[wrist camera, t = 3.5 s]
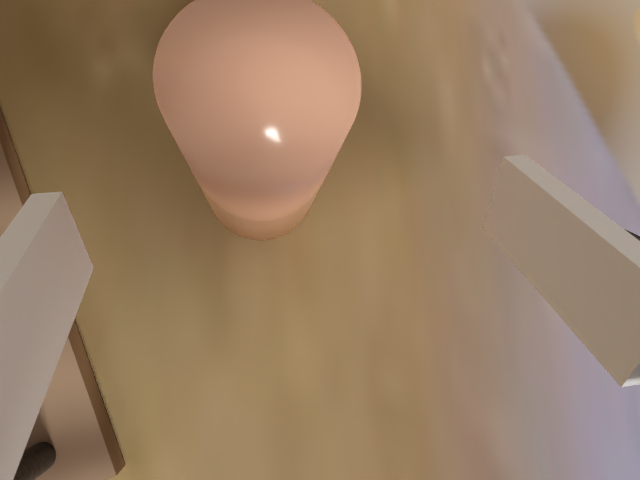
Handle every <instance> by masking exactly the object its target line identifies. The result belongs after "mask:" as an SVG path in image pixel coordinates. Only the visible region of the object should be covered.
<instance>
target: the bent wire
mask: <svg viewBox="0 0 640 480" xmlns="http://www.w3.org/2000/svg"><path fill="white" fill-rule="evenodd" d="M55 460H56V450H55V448H54V447H53V446H52V445H51V444H50V443H47V442H39V443H36V444H34V445H32V446H31V447H29V448H28V449H26V450H24V453H23V455H22V458H21V460H20V463H19V466H18V468H17V471H16V474H15V476H14V479H13V480H35V479H36V478H38V477H39V476H40V475H42V474H43V473H44V472H45V471H47V470H48V469H49V468H50V467H51V466H52V465H53V464H54V462H55Z"/></svg>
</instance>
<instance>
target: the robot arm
mask: <svg viewBox="0 0 640 480" xmlns="http://www.w3.org/2000/svg"><path fill="white" fill-rule="evenodd" d="M483 228H484V229H485V230H486V231H487V233H488V234H489V235H490V236H491V237H492V238H493V240H494V241H495V242H496V243H497V244H498V245H499V246H500V248H501V249H502V250H503V251H504V252H505V253H506V255H507V256H508V257H509V258H510V259H511V260H512V262H513V263H514V264H515V265H516V266H517V267H518V268H519V270H520V271H521V272H522V273H523V274H524V275H525V277H526V278H527V279H528V280H529V281H530V282H531V283H532V285H533V286H534V287H535V288H536V289H537V290H538V292H539V293H540V294H541V295H542V296H543V297H544V298H545V300H546V301H547V302H548V303H549V304H550V305H551V307H552V308H553V309H554V310H555V311H556V312H557V314H558V315H559V316H560V317H561V318H562V319H563V320H564V322H565V323H566V324H567V325H568V326H569V327H570V329H571V330H572V331H573V332H574V333H575V334H576V335H577V337H578V338H579V339H580V340H581V341H582V342H583V344H584V345H585V346H586V347H587V348H588V349H589V350H590V352H591V353H592V354H593V355H594V356H595V357H596V359H597V360H598V361H599V362H600V363H601V364H602V366H603V367H604V368H605V369H606V370H607V371H608V372H609V374H610V375H611V376H612V377H613V378H614V379H615V381H616V382H617V383H618V384H619V385H620V386H621V387H626V386H631V385H637V384H640V236H638V235H636V234H634V233H631V232H629V231H627V230H625V229H623V228H622V227H621V226H619V225H618V224H617V223H615V222H614V221H613V220H611V219H610V218H609V217H607V216H606V215H605V214H603V213H602V212H601V211H599V210H598V209H597V208H595V207H594V206H593V205H591V204H590V203H589V202H587V201H586V200H585V199H583V198H582V197H581V196H579V195H578V194H577V193H575V192H574V191H573V190H571V189H570V188H569V187H567V186H566V185H565V184H563V183H562V182H561V181H559V180H558V179H557V178H555V177H554V176H553V175H551V174H550V173H549V172H547V171H546V170H545V169H543V168H542V167H541V166H539V165H538V164H537V163H536V162H534V161H533V160H532V159H530V158H529V157H528V156H526V155H517V156H505V157H503V160H502V164H501V167H500V170H499V174H498V177H497V181H496V184H495V188H494V191H493V195H492V198H491V201H490V205H489V208H488V212H487V215H486V219H485V222H484V225H483ZM93 270H94V267H93V265H92V263H91V260H90V258H89V255H88V253H87V251H86V248H85V246H84V243H83V241H82V238H81V236H80V234H79V231H78V229H77V226H76V224H75V222H74V219H73V217H72V214H71V212H70V209H69V207H68V205H67V202H66V200H65V197H64V195H63V192H49V193H36V194H31V195H30V197H29V198H28V200H27V201H26V202H25V204H24V205H23V206H22V208H21V209H20V211H19V212H18V213H17V215H16V216H15V218H14V219H13V220H12V222H11V223H10V224H9V226H8V227H7V229H6V230H5V231H4V233H3V234H2V235H1V237H0V480H13V479H14V476H15V474H16V471H17V468H18V466H19V463H20V460H21V458H22V455H23V453H24V450H25V447H26V445H27V442H28V440H29V437H30V434H31V432H32V429H33V426H34V424H35V421H36V419H37V416H38V413H39V411H40V408H41V406H42V403H43V400H44V398H45V395H46V392H47V390H48V387H49V385H50V382H51V379H52V377H53V374H54V372H55V369H56V366H57V364H58V361H59V358H60V356H61V353H62V351H63V348H64V345H65V343H66V340H67V338H68V335H69V332H70V330H71V327H72V324H73V322H74V319H75V317H76V314H77V311H78V309H79V306H80V304H81V301H82V298H83V296H84V293H85V290H86V288H87V285H88V283H89V280H90V277H91V275H92V272H93Z"/></svg>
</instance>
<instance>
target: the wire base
mask: <svg viewBox="0 0 640 480" xmlns="http://www.w3.org/2000/svg"><path fill="white" fill-rule="evenodd" d="M29 197H30V192H29V189H28V186H27V184H26V181H25V178H24V175H23V172H22V169H21V166H20V164H19V161H18V158H17V155H16V152H15V149H14V147H13V144H12V141H11V138H10V135H9V132H8V129H7V127H6V124H5V121H4V118H3V115H2V112H1V110H0V237H1V235H2V234H3V233H4V231H5V230H6V229H7V227H8V226H9V224H10V223H11V222H12V220H13V219H14V218H15V216H16V215H17V213H18V212H19V211H20V209H21V208H22V206H23V205H24V204H25V202H26V201H27V200H28V198H29ZM39 442H47V443H50V444H51V445H52V446H53V447H54V448H55V450H56V460H55V462H54V464H53V465H52V466H51V467H50V468H49V469H48V470H47V471H45V472H44V473H43V474H42V475H40V476H39V477H38V478H36V479H35V480H108V479H110V478H112V477H114V476H116V475H117V474H118V473H119V472H120V471H121V469H122V468H123V467H124V466H125V463H124V460H123V457H122V454H121V451H120V448H119V446H118V443H117V440H116V437H115V434H114V431H113V428H112V426H111V423H110V420H109V417H108V414H107V411H106V409H105V406H104V403H103V400H102V397H101V394H100V391H99V389H98V386H97V383H96V380H95V377H94V374H93V372H92V369H91V366H90V363H89V360H88V357H87V354H86V352H85V349H84V346H83V343H82V340H81V337H80V335H79V332H78V329H77V326H76V323H75V320H74V322H73V324H72V327H71V330H70V332H69V335H68V338H67V340H66V343H65V345H64V348H63V351H62V353H61V356H60V358H59V361H58V364H57V366H56V369H55V372H54V374H53V377H52V379H51V382H50V385H49V387H48V390H47V392H46V395H45V398H44V400H43V403H42V406H41V408H40V411H39V413H38V416H37V419H36V421H35V424H34V426H33V429H32V432H31V434H30V437H29V440H28V442H27V445H26V447H25V450H26V449H28V448H29V447H31V446H32V445H34V444H36V443H39Z"/></svg>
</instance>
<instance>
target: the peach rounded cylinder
mask: <svg viewBox="0 0 640 480" xmlns="http://www.w3.org/2000/svg"><path fill="white" fill-rule="evenodd" d="M153 86H154V93H155V97H156V101H157V104H158V107H159V110H160V112H161V114H162V116H163V118H164V120H165V122H166V124H167V126H168V128H169V130H170V132H171V134H172V135H173V137H174V139H175V141H176V143H177V145H178V147H179V149H180V150H181V152H182V154H183V156H184V158H185V160H186V162H187V164H188V166H189V167H190V169H191V171H192V173H193V175H194V177H195V179H196V181H197V183H198V184H199V186H200V188H201V190H202V192H203V194H204V196H205V198H206V199H207V201H208V203H209V205H210V207H211V209H212V211H213V213H214V214H215V216H216V217H217V219H218V220H219V221H220V222H221V223H222V224H223V225H224V226H225V227H226V228H227V229H229V230H230V231H232V232H233V233H235V234H237V235H239V236H242V237H244V238H248V239H253V240H269V239H274V238H278V237H281V236H283V235H285V234H287V233H289V232H290V231H292V230H293V229H294V228H296V227H297V226H298V225H299V224H300V223H301V222H302V221H303V219H304V218H305V216H306V215H307V213H308V211H309V209H310V207H311V205H312V203H313V201H314V199H315V197H316V195H317V193H318V191H319V189H320V187H321V185H322V183H323V181H324V179H325V177H326V175H327V173H328V172H329V170H330V168H331V166H332V164H333V162H334V160H335V158H336V156H337V154H338V152H339V150H340V148H341V146H342V144H343V142H344V140H345V138H346V136H347V134H348V132H349V130H350V128H351V126H352V124H353V122H354V121H355V118H356V115H357V112H358V109H359V104H360V99H361V87H362V83H361V72H360V67H359V63H358V59H357V56H356V53H355V51H354V48H353V46H352V44H351V42H350V40H349V38H348V37H347V35H346V34H345V32H344V31H343V29H342V28H341V27H340V25H339V24H338V23H337V22H336V21H335V20H334V19H333V17H331V16H330V15H329V14H328V13H327V12H326V11H325V10H324V9H322V8H321V7H320V6H318V5H317V4H315V3H314V2H313V1H311V0H194V1H192V2H191V3H189V4H188V5H187V6H186V7H185V8H183V9H182V10H181V11H180V12H179V13H178V14H177V15H176V16H175V17H174V19H173V20H172V21H171V22H170V23H169V25H168V27H167V28H166V30H165V31H164V33H163V35H162V37H161V39H160V41H159V43H158V46H157V50H156V53H155V57H154V64H153Z"/></svg>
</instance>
